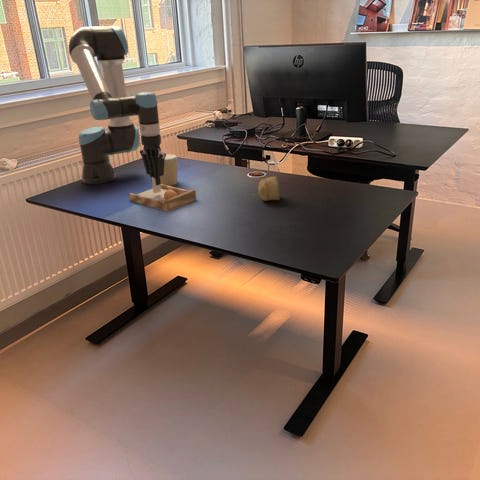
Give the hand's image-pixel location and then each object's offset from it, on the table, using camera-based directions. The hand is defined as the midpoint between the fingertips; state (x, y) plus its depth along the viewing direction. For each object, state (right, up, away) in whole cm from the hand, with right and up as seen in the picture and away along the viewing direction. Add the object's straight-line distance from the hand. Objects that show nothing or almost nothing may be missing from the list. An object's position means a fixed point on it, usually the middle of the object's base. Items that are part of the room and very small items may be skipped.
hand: (157, 191), depth 192 cm
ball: (+6, -2, -5) cm, 8 cm away
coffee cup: (+2, +6, +20) cm, 20 cm away
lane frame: (+3, -3, 0) cm, 4 cm away
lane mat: (+3, -3, 0) cm, 4 cm away
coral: (+46, -4, -4) cm, 46 cm away
